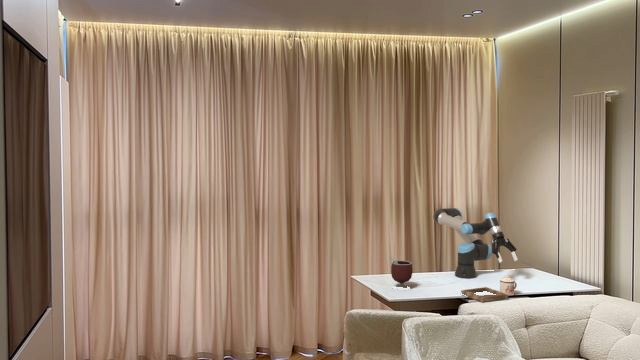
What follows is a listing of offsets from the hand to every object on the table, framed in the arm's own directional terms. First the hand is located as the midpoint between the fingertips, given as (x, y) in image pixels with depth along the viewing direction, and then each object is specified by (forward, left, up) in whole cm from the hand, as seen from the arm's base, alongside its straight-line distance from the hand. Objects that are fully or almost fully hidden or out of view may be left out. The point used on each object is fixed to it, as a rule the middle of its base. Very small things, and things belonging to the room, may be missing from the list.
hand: (508, 261), depth 411 cm
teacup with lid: (+21, -19, -15) cm, 33 cm away
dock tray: (+21, -39, -15) cm, 47 cm away
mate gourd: (-19, -75, -15) cm, 79 cm away
